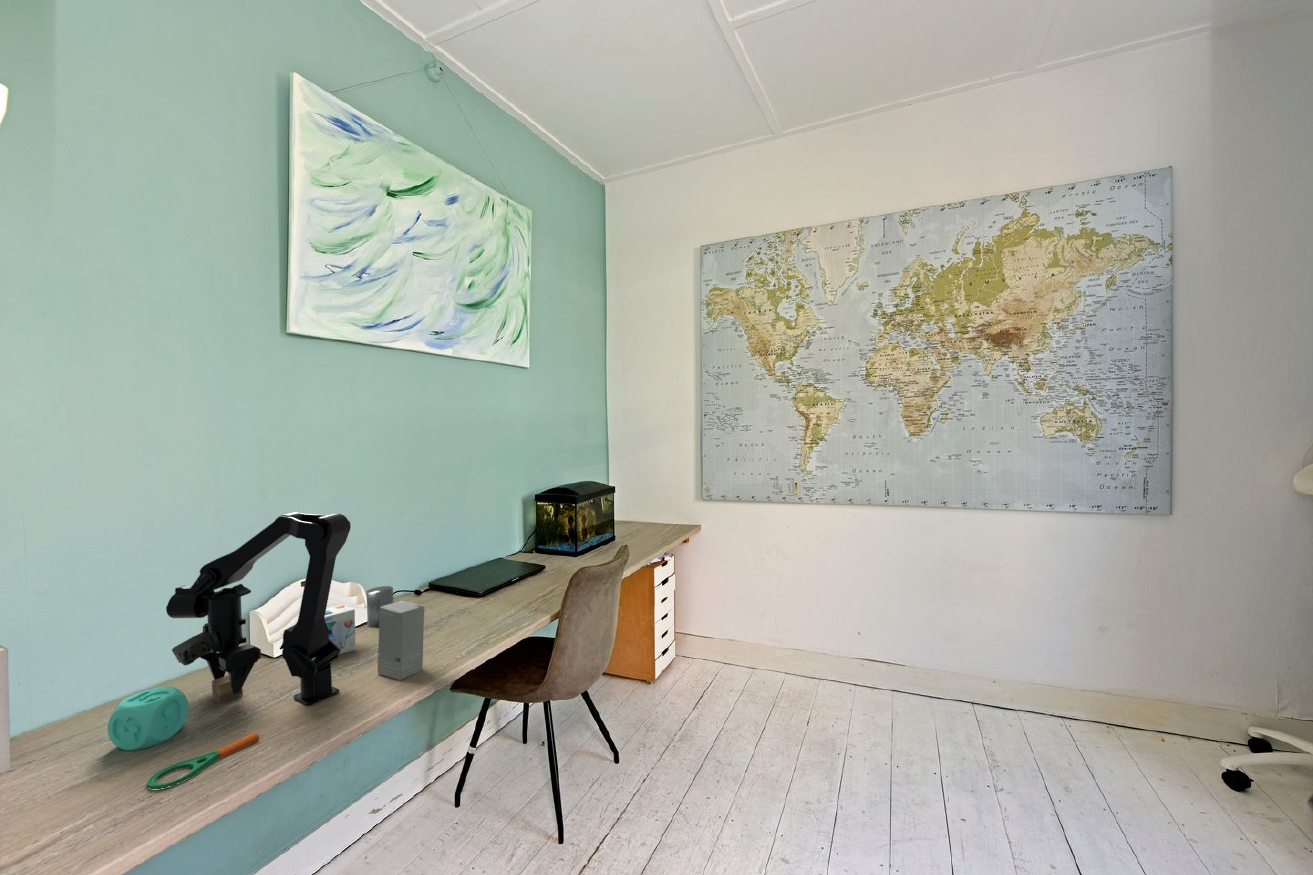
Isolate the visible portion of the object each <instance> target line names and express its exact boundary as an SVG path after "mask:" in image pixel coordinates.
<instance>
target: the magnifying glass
mask: <svg viewBox="0 0 1313 875" xmlns="http://www.w3.org/2000/svg"><path fill="white" fill-rule="evenodd" d="M259 740H260V735H259V733H257V732H253V733H250V734H248V735H247V736H244V737H242V738H240V739H237V740H236V741H234V742H231V743H229V744H227V745H225V746H223V747H221V748H219V749H217V750H214V751H211V752H208V753H205V754H202V755H197V756H194V757H192V758H189V759H185V760H181V761H179V762H175V763H172V764H170V765H168V766H165V767H164V768H162V769H160V770H159V771H157V772H155V773H154V774H152V775H151V776H150V777H149V778H148V779H147V782H146V788H147V787H148V788H150V789H161V788H166V787H168V786H173V785H176V784H177V783H180V782H182V781H184V780H186V779H188V778H190V777H192V776H193V777H195V776H196V775H198V774H199V773H200V772H202V771H203V770H205V769H206V768H208V767H209V766H211V765H212V764H213V763H215V762H216V761H218V760H220V759H223V758H224V756H225V757H227V756H228V755H232V754H233V753H235V752H238V751H239V749H240V750H241V748H242V749H244V748H245V747H248V746H251V745H252V744H254V743H256V742H258V741H259ZM226 755H227V756H226ZM222 757H223V758H222ZM207 766H208V767H207ZM187 767H190V769H191V770H190V772H188V773H187V774H185V775H183V776H181V777H179V778H177V779H175V780H171V781H168V782H164V783H163V782H161V783H159V782H157V781H158V780H159V779H160V778H162V777H163V776H165V775H167V774H169V773H171V771H172V772H174V770H175V771H177V770H176V769H178V770H181V769H180V768H182V769H186V768H187ZM205 767H206V768H205ZM204 768H205V769H204ZM187 769H188V768H187ZM202 769H203V770H202ZM201 770H202V771H201ZM198 772H199V773H198ZM197 773H198V774H197ZM194 775H195V776H194ZM161 776H162V777H161ZM193 777H192V778H193ZM158 778H159V779H158ZM157 779H158V780H157ZM190 779H191V778H190ZM156 780H157V781H156ZM188 780H189V779H188ZM180 784H181V783H180ZM176 786H177V785H176ZM173 787H174V786H173ZM148 788H147V789H148ZM166 789H167V788H166Z"/></svg>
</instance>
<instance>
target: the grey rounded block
mask: <svg viewBox="0 0 1313 875" xmlns="http://www.w3.org/2000/svg"><path fill="white" fill-rule="evenodd" d="M392 603H394V587H393V586H390V585H387V586H386V585H385V586H376V587H372V588H369V589H367V590H366V613H367V614H366V617H367V619H366V620H367V621H366V622H367V627H369V628H379V618H380V607H382V606H384V605H388V604H392Z"/></svg>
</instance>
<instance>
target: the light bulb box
mask: <svg viewBox="0 0 1313 875" xmlns="http://www.w3.org/2000/svg"><path fill="white" fill-rule="evenodd" d="M355 617H356V612H355V609H354V608H352V607H350V606H348V605H346V604H342V605H338V606H334V607H331V608H330V607H329V608H326V612H325V622H326V624H327V626H328V629H329V639H330V640H331V641H332V642H333V643H334V644H335V645H336V646H337V647H338V648H339V649H340V650H341V651H340V655H342V653H343V654H345V652H346V653H348V652H352V651H355V650H356V619H355ZM314 658H316V657H314ZM314 658H313V659H314ZM313 659H311V660H313Z"/></svg>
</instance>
